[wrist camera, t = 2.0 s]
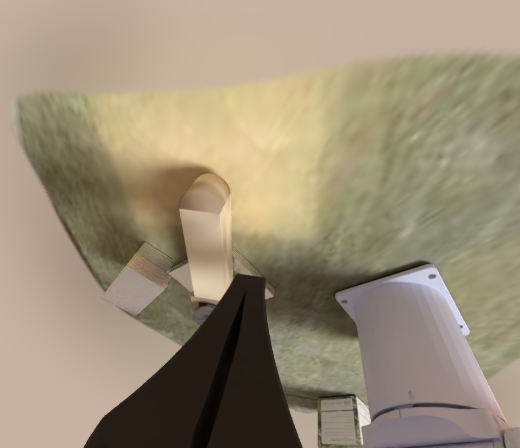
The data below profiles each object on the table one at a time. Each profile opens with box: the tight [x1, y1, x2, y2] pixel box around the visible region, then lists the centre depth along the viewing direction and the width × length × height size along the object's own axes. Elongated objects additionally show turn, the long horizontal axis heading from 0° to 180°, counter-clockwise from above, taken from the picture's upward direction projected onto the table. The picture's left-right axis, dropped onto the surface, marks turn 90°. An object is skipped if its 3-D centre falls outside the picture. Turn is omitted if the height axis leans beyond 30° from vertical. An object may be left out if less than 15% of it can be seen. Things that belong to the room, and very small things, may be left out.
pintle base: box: [169, 246, 275, 326], centre depth 22 cm, size 7×7×4 cm
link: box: [179, 173, 234, 312], centre depth 19 cm, size 13×3×2 cm, turn 177°
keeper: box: [101, 242, 174, 316], centre depth 21 cm, size 3×5×5 cm, turn 140°
